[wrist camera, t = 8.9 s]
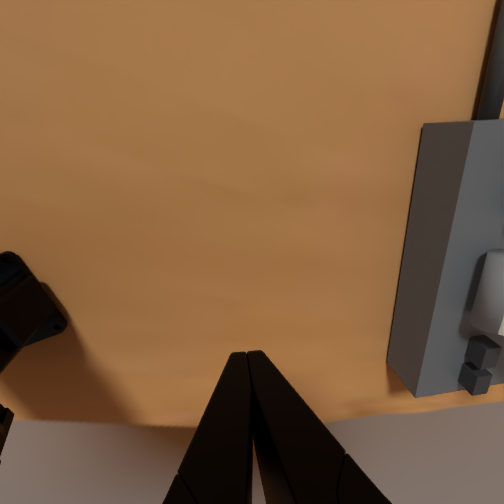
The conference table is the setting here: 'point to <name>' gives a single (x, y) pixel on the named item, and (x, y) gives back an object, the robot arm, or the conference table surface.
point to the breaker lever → (490, 295)
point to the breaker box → (453, 248)
